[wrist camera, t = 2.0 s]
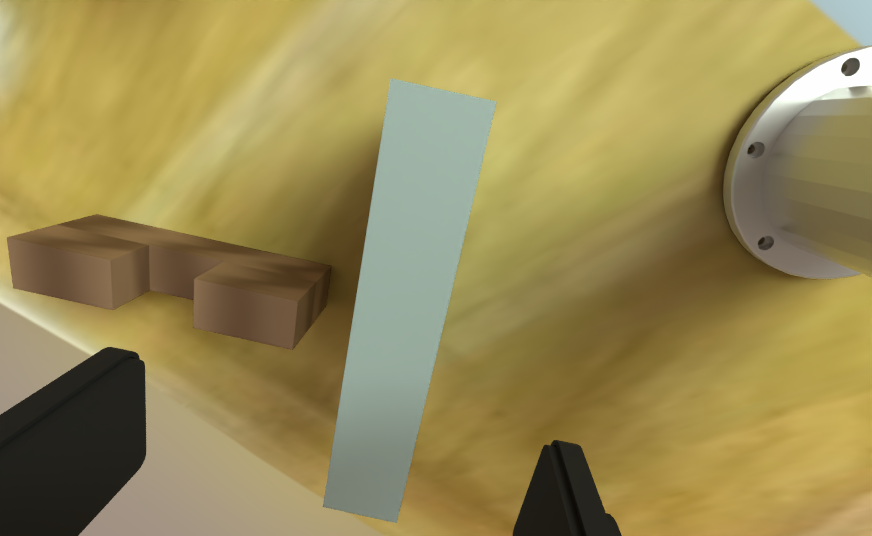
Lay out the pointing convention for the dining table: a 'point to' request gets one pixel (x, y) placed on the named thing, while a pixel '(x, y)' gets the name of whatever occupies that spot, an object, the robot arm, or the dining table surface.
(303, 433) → the dining table surface
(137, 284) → the brown long block
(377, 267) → the cross plate
